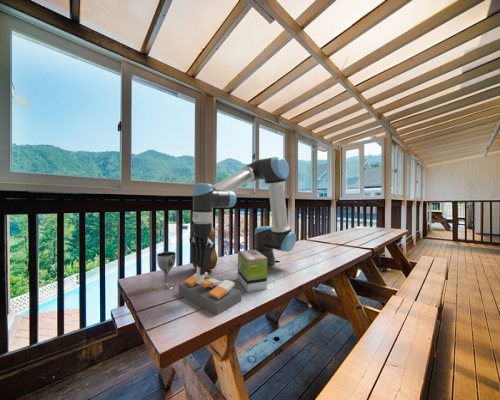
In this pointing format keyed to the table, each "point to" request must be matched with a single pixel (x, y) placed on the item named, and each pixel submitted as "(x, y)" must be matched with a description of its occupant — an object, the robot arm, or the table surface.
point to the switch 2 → (221, 289)
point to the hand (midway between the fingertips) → (200, 282)
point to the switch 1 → (193, 279)
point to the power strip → (210, 297)
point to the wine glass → (166, 267)
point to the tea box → (252, 270)
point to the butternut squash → (213, 255)
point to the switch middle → (210, 283)
